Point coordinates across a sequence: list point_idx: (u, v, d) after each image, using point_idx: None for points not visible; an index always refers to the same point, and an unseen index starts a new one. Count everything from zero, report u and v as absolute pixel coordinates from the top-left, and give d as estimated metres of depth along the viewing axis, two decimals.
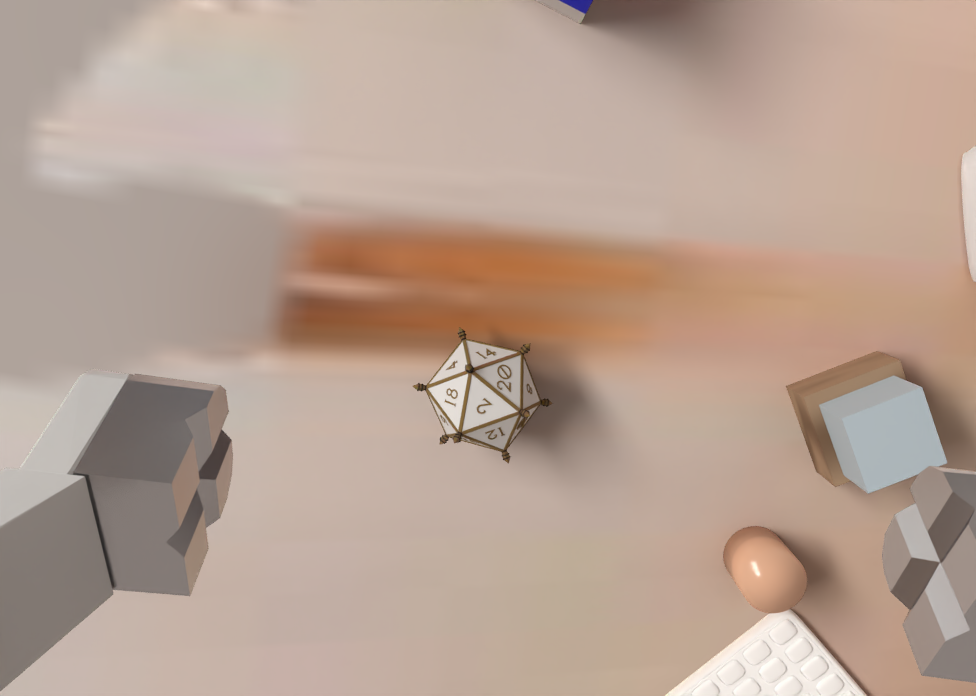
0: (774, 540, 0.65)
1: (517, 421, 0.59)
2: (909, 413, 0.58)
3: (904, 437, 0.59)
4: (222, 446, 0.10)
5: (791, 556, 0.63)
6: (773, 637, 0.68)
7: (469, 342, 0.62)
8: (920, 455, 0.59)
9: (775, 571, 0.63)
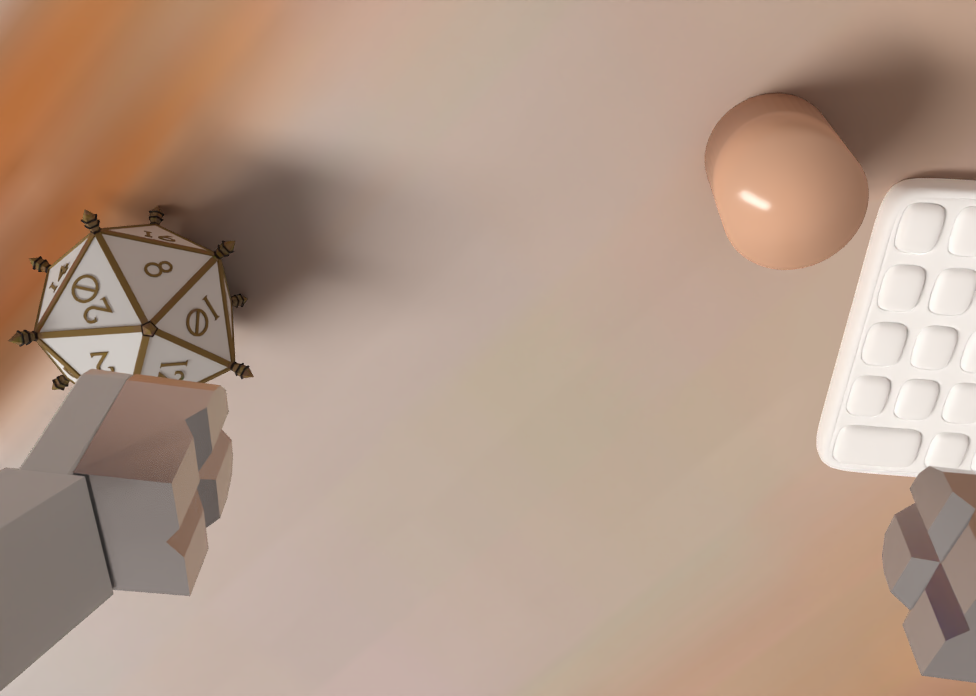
0: (754, 123, 0.30)
1: (168, 338, 0.32)
2: None
3: None
4: (222, 446, 0.10)
5: (784, 141, 0.28)
6: (906, 249, 0.34)
7: (51, 270, 0.35)
8: None
9: (779, 187, 0.29)
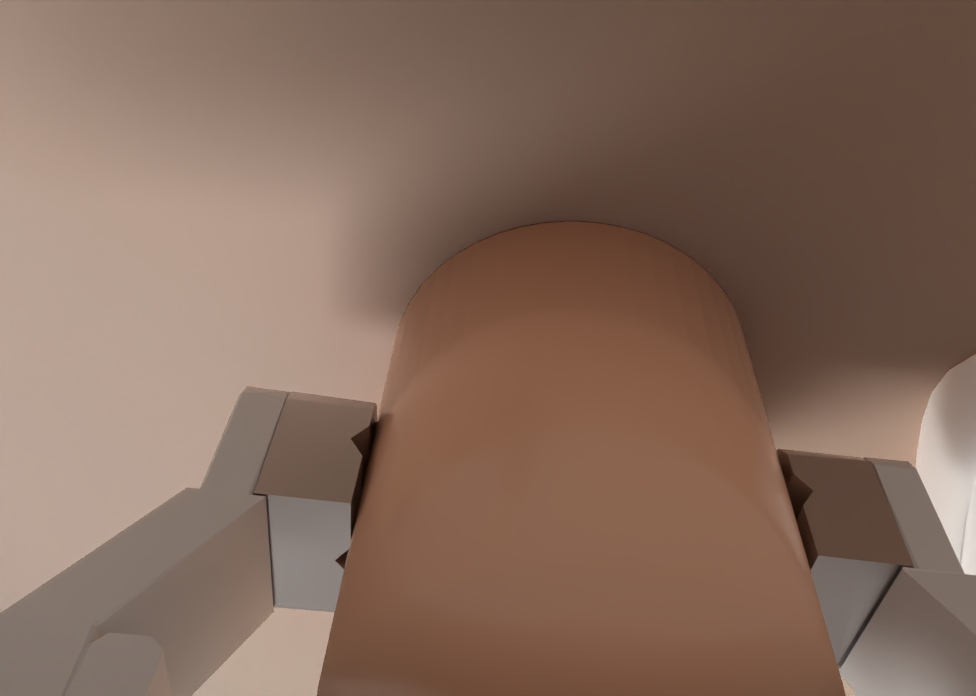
0: (411, 415, 0.09)
1: None
2: None
3: None
4: None
5: (433, 593, 0.07)
6: None
7: None
8: None
9: None
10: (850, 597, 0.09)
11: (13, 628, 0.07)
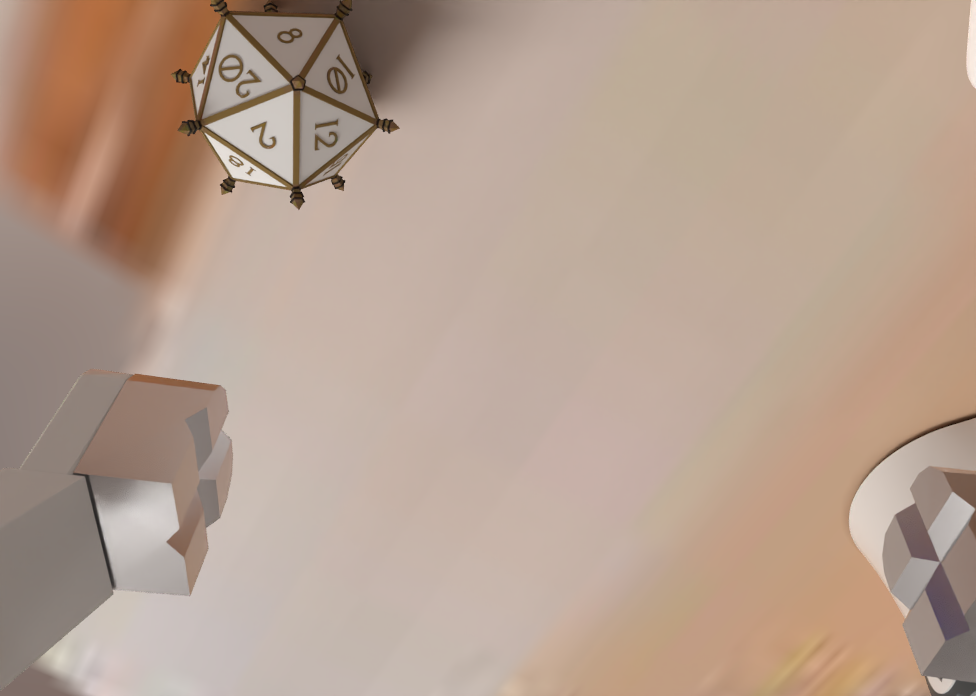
0: None
1: (316, 95, 0.34)
2: None
3: None
4: (222, 446, 0.10)
5: None
6: None
7: (193, 76, 0.37)
8: None
9: None
10: None
11: None
